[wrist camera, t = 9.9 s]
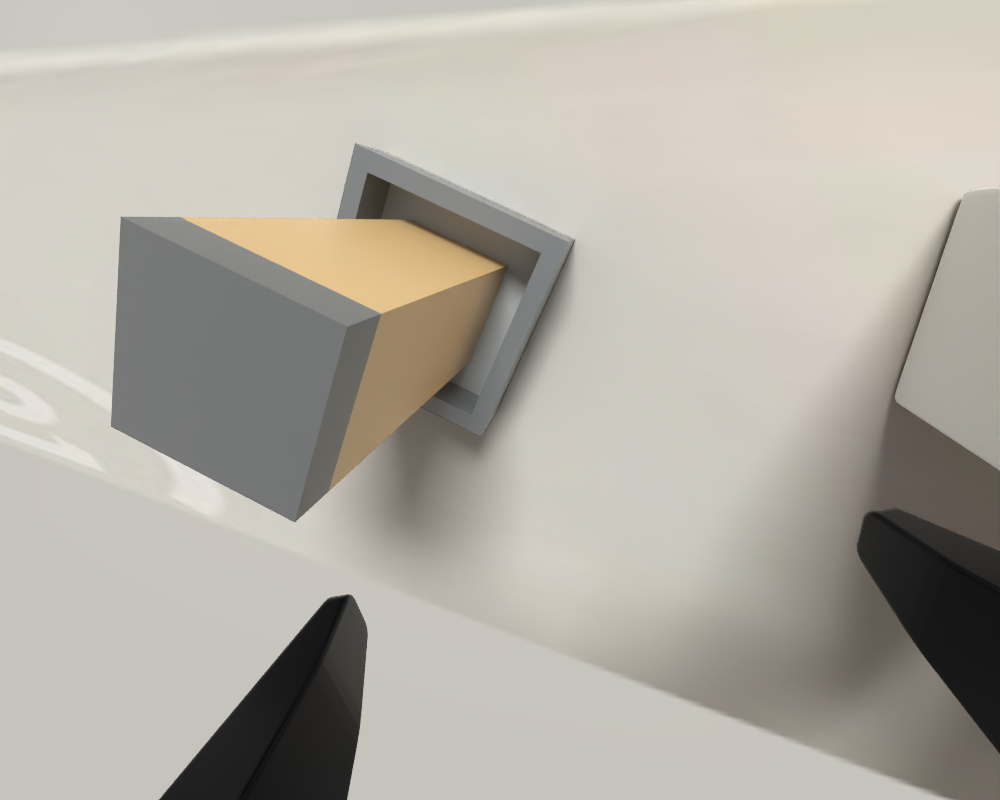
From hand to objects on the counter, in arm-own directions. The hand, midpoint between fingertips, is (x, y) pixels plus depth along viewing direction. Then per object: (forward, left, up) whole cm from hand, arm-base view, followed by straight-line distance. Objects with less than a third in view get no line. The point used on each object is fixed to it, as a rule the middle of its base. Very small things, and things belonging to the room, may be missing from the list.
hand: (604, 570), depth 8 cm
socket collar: (+8, +1, -12) cm, 15 cm away
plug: (+8, +1, -12) cm, 14 cm away
